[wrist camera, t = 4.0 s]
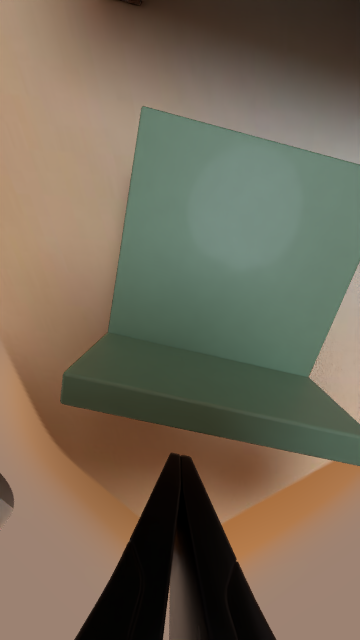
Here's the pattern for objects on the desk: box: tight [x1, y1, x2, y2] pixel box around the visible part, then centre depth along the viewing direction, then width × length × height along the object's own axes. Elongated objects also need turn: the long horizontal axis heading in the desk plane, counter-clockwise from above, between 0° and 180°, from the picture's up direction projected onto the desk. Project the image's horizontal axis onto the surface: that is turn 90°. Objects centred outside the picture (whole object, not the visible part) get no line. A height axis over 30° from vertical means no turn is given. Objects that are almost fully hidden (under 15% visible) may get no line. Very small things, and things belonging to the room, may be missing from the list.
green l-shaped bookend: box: [60, 106, 360, 466], centre depth 7 cm, size 7×7×6 cm
